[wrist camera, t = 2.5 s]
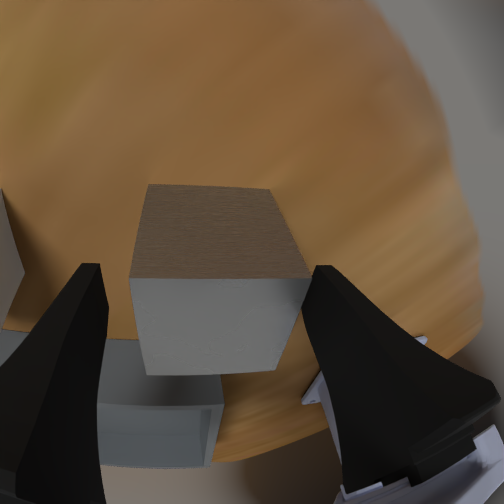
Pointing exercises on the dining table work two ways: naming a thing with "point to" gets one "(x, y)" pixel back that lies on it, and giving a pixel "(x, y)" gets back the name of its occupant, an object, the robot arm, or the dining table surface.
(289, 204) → the dining table surface
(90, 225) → the dining table surface
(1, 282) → the white cube
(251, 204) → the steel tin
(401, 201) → the dining table surface
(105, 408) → the tote
